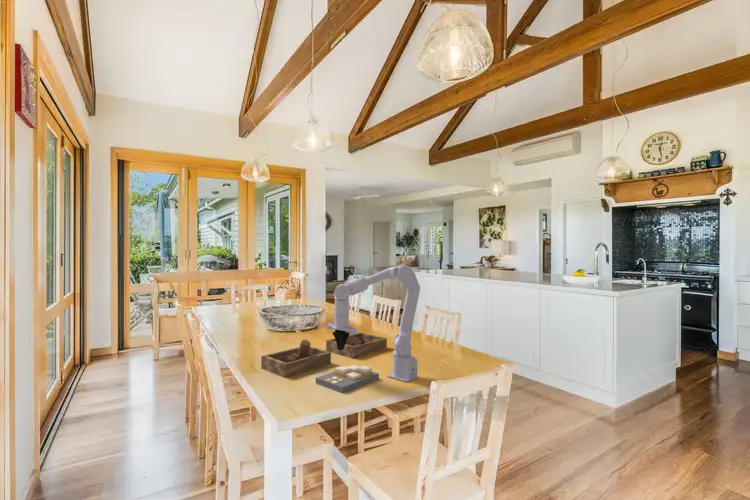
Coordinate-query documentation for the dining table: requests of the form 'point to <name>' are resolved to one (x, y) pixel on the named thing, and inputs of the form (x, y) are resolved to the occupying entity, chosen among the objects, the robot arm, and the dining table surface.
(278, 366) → the trays
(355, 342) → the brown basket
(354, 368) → the button
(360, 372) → the button
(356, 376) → the button
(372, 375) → the board
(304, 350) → the wooden block set
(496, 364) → the dining table surface
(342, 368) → the button
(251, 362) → the dining table surface
